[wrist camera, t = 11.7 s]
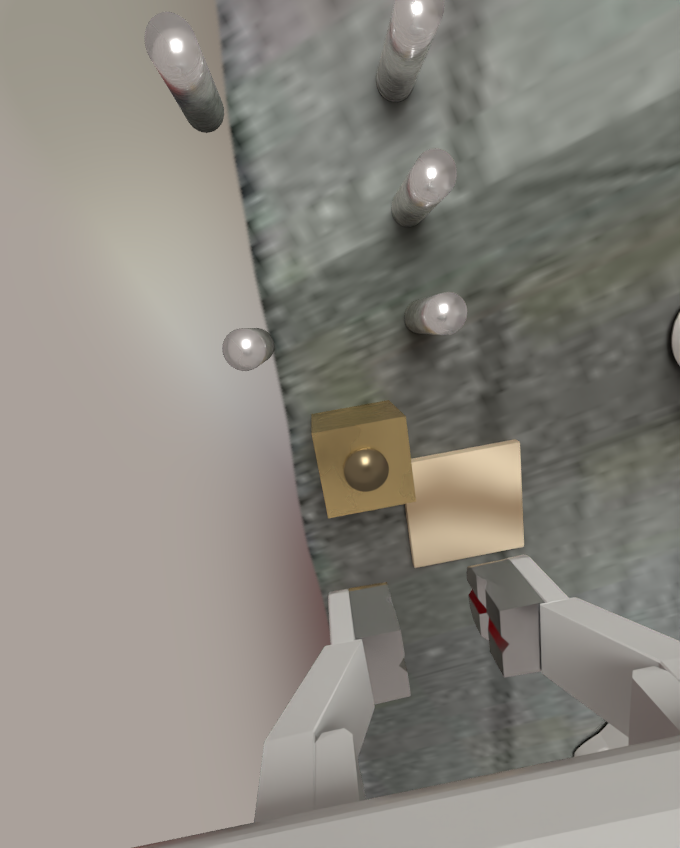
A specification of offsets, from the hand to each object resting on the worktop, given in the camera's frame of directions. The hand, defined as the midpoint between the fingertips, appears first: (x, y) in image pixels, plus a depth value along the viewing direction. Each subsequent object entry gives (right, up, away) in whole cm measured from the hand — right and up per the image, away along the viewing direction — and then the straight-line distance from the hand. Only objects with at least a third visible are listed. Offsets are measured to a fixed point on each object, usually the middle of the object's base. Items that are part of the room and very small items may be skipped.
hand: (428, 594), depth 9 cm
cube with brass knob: (-1, +3, +15) cm, 15 cm away
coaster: (+6, -1, +16) cm, 18 cm away
